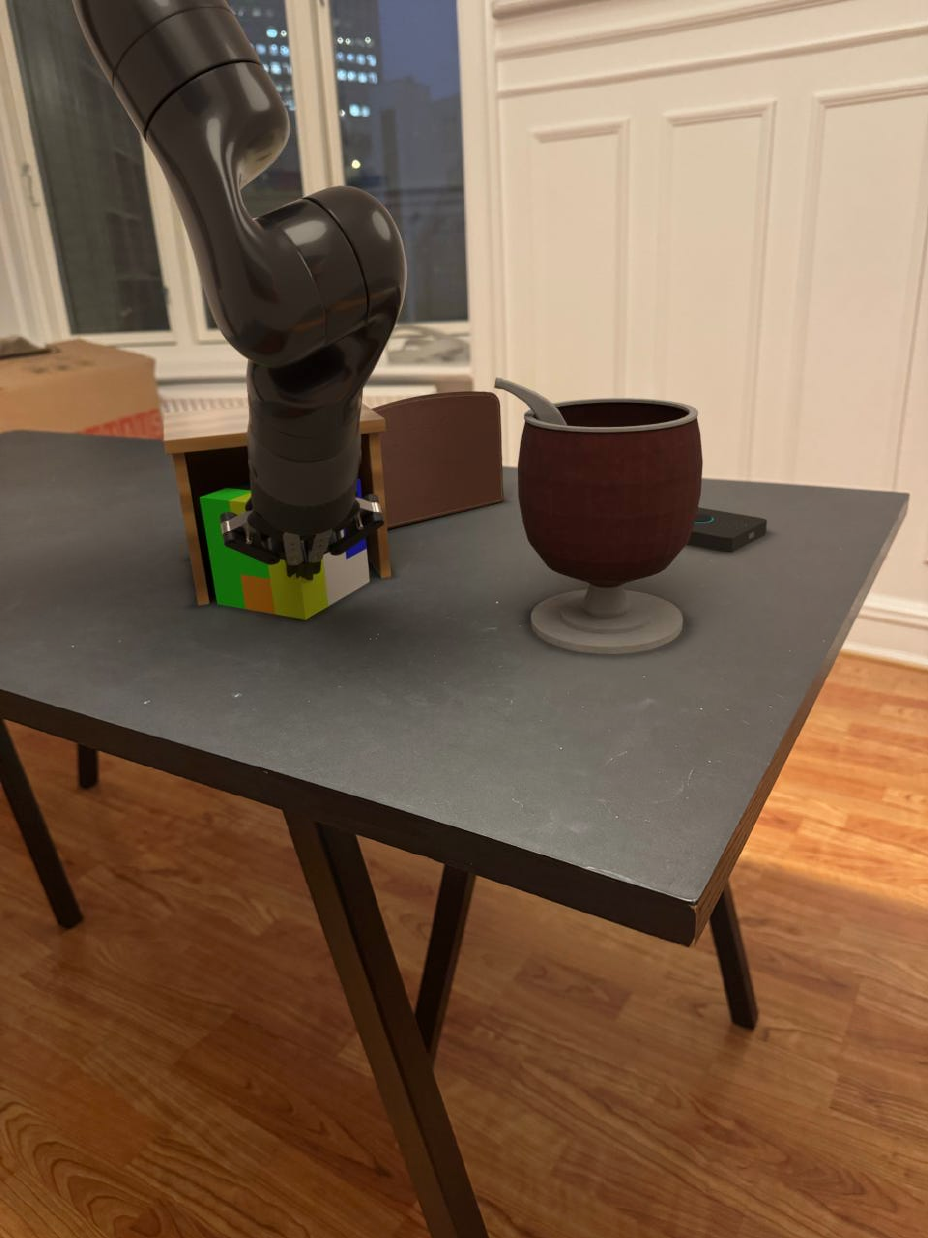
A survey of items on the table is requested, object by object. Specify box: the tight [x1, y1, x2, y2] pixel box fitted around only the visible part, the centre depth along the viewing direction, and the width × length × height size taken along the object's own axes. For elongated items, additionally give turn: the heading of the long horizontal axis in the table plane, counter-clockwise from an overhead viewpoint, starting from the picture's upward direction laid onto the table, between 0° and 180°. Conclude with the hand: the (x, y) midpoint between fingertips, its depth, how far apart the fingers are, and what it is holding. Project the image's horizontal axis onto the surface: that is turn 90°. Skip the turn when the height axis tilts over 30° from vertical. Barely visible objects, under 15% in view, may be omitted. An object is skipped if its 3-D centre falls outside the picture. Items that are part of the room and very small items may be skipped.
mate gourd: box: [493, 376, 704, 655], centre depth 69 cm, size 16×14×20 cm
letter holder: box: [371, 390, 505, 531], centre depth 104 cm, size 10×20×14 cm, turn 126°
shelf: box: [162, 402, 392, 606], centre depth 86 cm, size 15×19×15 cm
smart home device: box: [686, 506, 768, 554], centre depth 96 cm, size 8×2×20 cm
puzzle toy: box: [200, 478, 371, 621], centre depth 81 cm, size 10×10×10 cm
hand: (302, 571), depth 77 cm, fingers closed
